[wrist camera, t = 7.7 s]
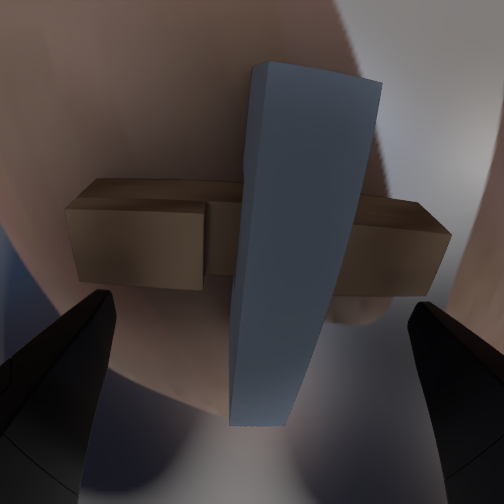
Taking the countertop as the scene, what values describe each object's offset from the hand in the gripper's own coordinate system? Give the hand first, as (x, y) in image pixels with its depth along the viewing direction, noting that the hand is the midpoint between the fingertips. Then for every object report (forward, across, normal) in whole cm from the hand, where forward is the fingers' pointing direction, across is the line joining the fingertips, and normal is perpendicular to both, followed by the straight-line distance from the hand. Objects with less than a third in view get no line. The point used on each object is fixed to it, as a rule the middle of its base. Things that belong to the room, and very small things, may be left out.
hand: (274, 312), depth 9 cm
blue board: (+6, 0, 0) cm, 6 cm away
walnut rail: (+6, 0, 0) cm, 6 cm away
